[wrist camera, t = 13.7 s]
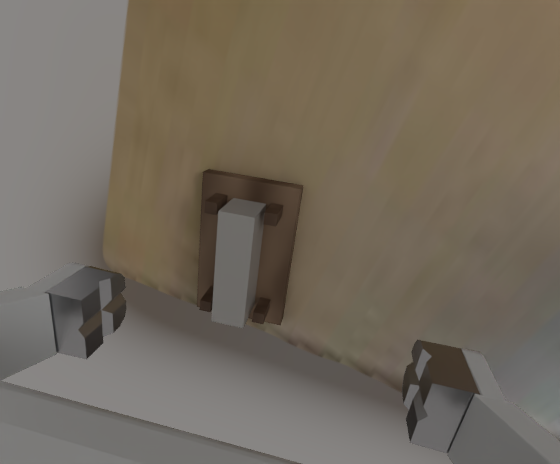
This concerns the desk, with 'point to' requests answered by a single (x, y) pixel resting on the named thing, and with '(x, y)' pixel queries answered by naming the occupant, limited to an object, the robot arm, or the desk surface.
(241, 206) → the grey rectangular block
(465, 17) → the desk surface
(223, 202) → the footed brown board
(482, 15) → the desk surface
